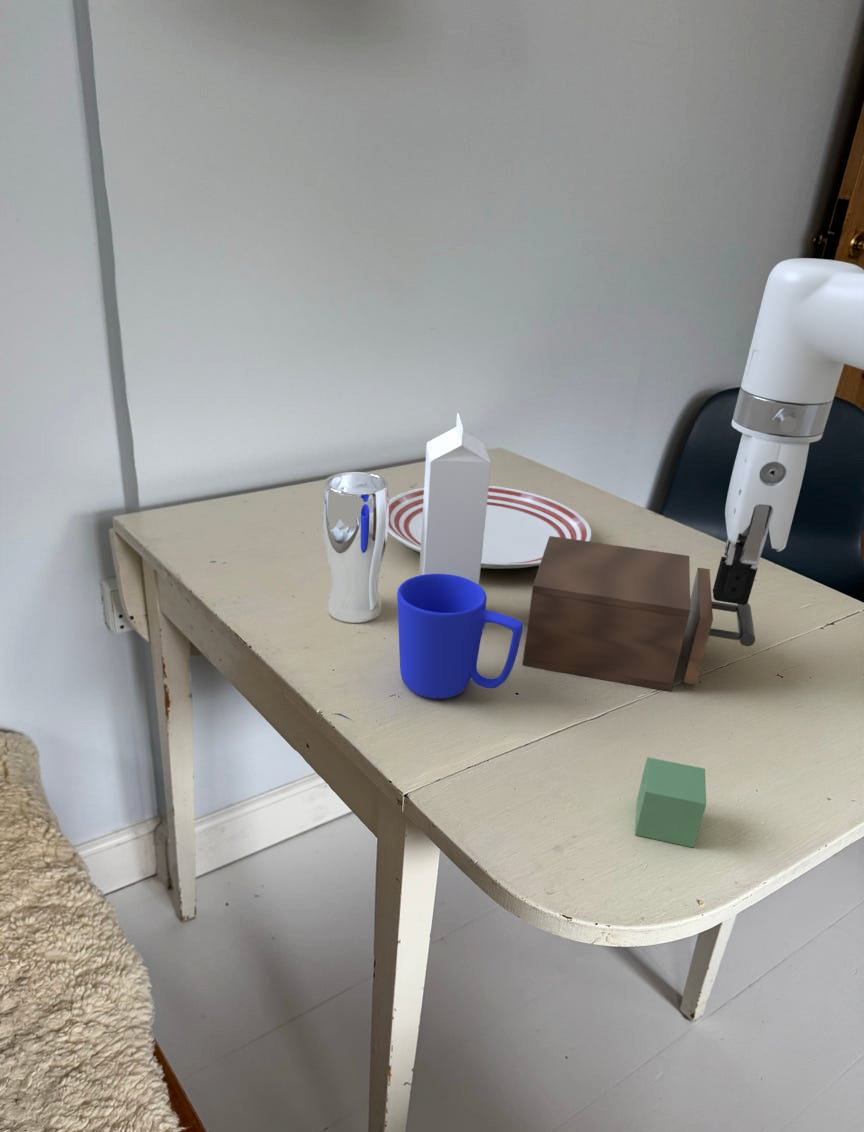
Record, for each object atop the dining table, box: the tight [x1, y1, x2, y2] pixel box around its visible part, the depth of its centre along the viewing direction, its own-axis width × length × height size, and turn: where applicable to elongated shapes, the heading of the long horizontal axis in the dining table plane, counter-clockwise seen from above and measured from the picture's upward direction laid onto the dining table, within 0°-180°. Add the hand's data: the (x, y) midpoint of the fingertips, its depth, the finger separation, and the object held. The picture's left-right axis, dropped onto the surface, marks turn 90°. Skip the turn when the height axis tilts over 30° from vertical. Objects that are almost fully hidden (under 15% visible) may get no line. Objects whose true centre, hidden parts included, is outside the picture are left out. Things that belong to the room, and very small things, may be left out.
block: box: [634, 756, 707, 848], centre depth 67 cm, size 4×4×4 cm
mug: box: [396, 574, 524, 700], centre depth 81 cm, size 8×12×10 cm
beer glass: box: [322, 471, 390, 624], centre depth 93 cm, size 7×7×15 cm
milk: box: [418, 412, 492, 586], centre depth 91 cm, size 6×6×22 cm
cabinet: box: [522, 536, 691, 692], centre depth 89 cm, size 15×13×9 cm
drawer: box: [682, 567, 756, 686], centre depth 88 cm, size 18×11×7 cm, turn 73°
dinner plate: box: [388, 484, 593, 570], centre depth 114 cm, size 27×27×3 cm
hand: (729, 598), depth 85 cm, fingers closed
